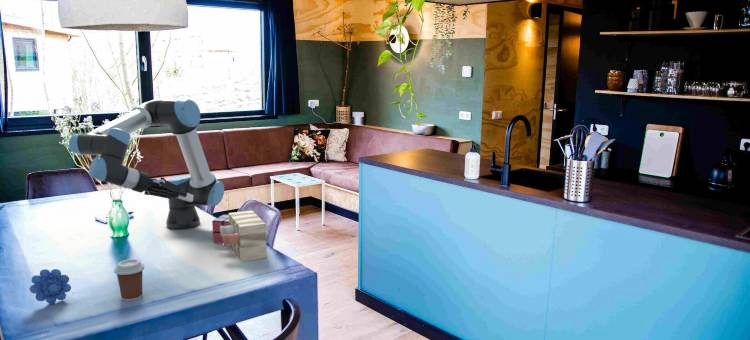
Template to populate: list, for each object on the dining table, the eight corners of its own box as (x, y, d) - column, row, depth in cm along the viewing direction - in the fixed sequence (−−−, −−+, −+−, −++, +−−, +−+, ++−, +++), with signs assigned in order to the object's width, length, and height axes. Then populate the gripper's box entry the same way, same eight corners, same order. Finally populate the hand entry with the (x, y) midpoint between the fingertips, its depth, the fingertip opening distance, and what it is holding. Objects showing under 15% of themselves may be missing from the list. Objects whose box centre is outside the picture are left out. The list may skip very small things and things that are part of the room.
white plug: (220, 235, 229) (219, 224, 228) (253, 230, 235) (252, 220, 234) (222, 238, 225) (221, 227, 224) (255, 233, 231) (255, 223, 230)
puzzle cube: (234, 244, 236) (233, 222, 234) (213, 243, 238) (211, 220, 236) (244, 237, 245) (243, 215, 243) (223, 236, 247) (222, 214, 245)
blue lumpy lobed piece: (36, 313, 171) (31, 277, 169) (30, 306, 176) (25, 271, 174) (76, 301, 180) (72, 266, 177) (69, 295, 184) (65, 261, 182)
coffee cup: (111, 301, 179) (107, 266, 177) (127, 290, 188) (124, 257, 186) (136, 303, 178) (133, 268, 176) (152, 292, 187) (149, 258, 185)
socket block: (230, 244, 235) (228, 213, 232) (253, 241, 239) (252, 210, 236) (241, 261, 215) (239, 226, 213) (266, 257, 220) (265, 223, 217)
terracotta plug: (222, 244, 218) (222, 232, 217) (257, 239, 224) (257, 228, 223) (225, 247, 214) (224, 236, 213) (260, 242, 220) (259, 231, 219)
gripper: (124, 195, 205) (182, 212, 220) (142, 183, 197) (200, 202, 213) (127, 177, 208) (184, 195, 224) (145, 164, 201) (202, 184, 216)
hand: (192, 198), depth 218 cm, fingers closed
